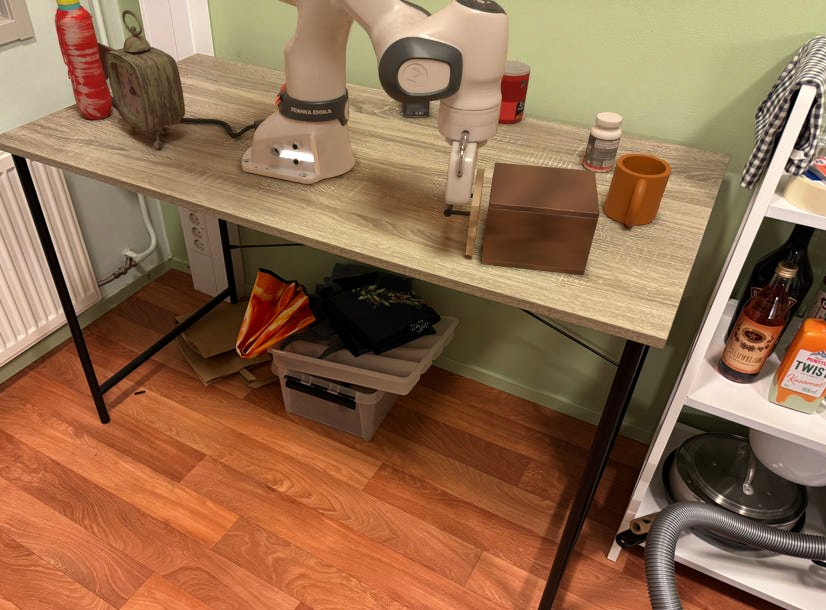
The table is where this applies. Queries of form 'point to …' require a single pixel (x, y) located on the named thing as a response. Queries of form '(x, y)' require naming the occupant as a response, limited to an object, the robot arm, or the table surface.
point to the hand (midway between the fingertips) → (459, 203)
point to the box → (416, 109)
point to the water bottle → (83, 59)
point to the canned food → (514, 91)
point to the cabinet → (541, 218)
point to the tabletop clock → (145, 84)
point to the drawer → (474, 211)
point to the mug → (637, 189)
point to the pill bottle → (603, 142)
